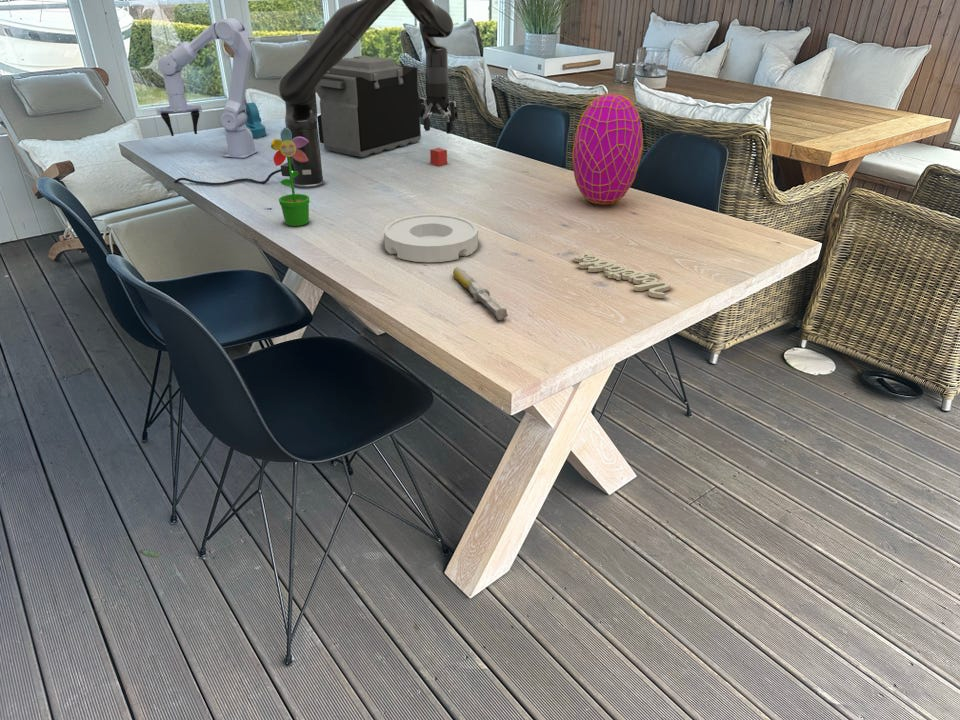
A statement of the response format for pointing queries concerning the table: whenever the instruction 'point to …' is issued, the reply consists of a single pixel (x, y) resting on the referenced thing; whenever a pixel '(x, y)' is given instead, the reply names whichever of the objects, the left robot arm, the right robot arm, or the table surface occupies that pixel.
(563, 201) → the table surface
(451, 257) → the ashtray
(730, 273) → the table surface
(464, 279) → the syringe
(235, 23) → the left robot arm
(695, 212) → the table surface
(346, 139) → the cooler box
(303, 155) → the potted flower
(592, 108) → the decorative egg
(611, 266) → the decorative sign
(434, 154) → the block
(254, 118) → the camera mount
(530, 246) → the table surface
